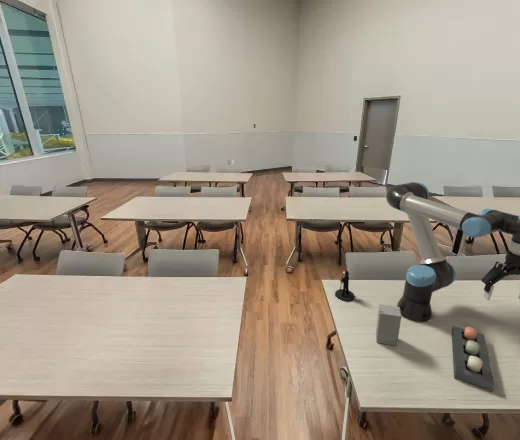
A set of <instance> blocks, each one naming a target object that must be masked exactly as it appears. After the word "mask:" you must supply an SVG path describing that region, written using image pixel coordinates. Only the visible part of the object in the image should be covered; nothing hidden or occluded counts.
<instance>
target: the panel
mask: <svg viewBox="0 0 520 440" xmlns="http://www.w3.org/2000/svg"><path fill="white" fill-rule="evenodd" d="M464 332H465V328H463V327H460V326H455V325H452V328H451V345H452V346H451V348H452V363H453V379H456V380H458V381H460V382H463V383H466V384H468V385H471V386H473V387H477V388H479V389H482V390H485V391H488V392H490V393H492V392H493V391H494V388H495V379H494V376H493V371H492V370H493V369H492V365H491V360H490V356H489V351H488V345H487V341H486V337H485V334H484V333H480V332H478V331H477V335H476V338H475V340H474V341H475V342H477V343H478V344H479V345H480V348H479V351H478V354H477V355H471V354H469V353H467V352H466V351H465V348H466V344H467V341H469V340H468V339H466V338H465V337H464V336H463V335H464ZM470 356H476V357H478V358H480V359H481V360H482V362H483V364H482V367H481V370H480V372H474V371H471V370H470V369H469V368H468V367H467V363H468V359H469V357H470Z"/></svg>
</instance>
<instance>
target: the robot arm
mask: <svg viewBox="0 0 520 440" xmlns="http://www.w3.org/2000/svg"><path fill="white" fill-rule="evenodd" d="M385 196H386V201H387V204H388V205H389V206H391V208H393V209H395V210H398V211H401V212H403V213H405V214H406V215H407V217H408V220H409V224H410V227H411V230H412V233H413V235H414V239H415V242H416V246H417V249H418V252H419V255H420V258H421V260H420V262H419V264H416V265H412V266H410V267H409V268H408V269H407V271H406V272H407V273H406V275H405V283H404V287H403V288H404V289H403V292H402V294H403V295H401V297H400V299H399V300H398V301H397V304H396V307H400V311H401V316H402V317H403V318H404V319H407V320H410V321H413V322H418V323H426V322H429V321H430V320H432V316H433V310H432V305H431V299H432V295H433V293H434V292H437V291H439V290H441V289H444V288H447V287H449V286H451V285H452V284H453V283H454V282H455V281H456V279H457V278H456V277H457V272H456V269H455V267H454V266H453V265H452V264H451V263H450V262H448V261H447V259H446V257H444V256H443V255H441V252H440V248H439V245H438V242H437V240H436V239H437V238H436V236H435V234H434V229H433V227H432V224H431V222H430V220H432V221H435V222H438V223H441V224H443V225H446V226H450V227H453V228H456V229H458V230H460V231H462V232H463V233H464V234H465V235H466V236H467V237H470V238H473V239H475V238H482V237H486V236H487V235H490V234H493V233H496V232H501V233H504V234H507V235H511V239H510V243H509V246H508V250H507V251H506V255H505V256H504V259H505V260H504V262H503V263H501V262H500V261H496V262H495V263H494V265H493V267H492V268H491V269H490V270H489V271H488V272H487V273H486V274H485V275H484V276H483V277H482V278H481V282H482V283H483V284H484V288H483V290H484V293H483V298H485V299H486V300H487V301H490V300H491V297H492V294H493V291H494V289H495V286H494V285H495V284H497V283H498V282H500V281H501V280H502V279H504V278H505V277H509V276H510V275H511V276H520V214H519V215H515V214H512V213H507V212H504V211H500V210H497V209H492V208H484V209H483V210H481V211H480V213H479V214H477V213H474V212H470V211H468V210H463V209H460V208H457V207H454V206H450V205H447V204H443V203H440V202H437V201H433V200H431V199H429V197H430V191H429V189H428V187H427V186H426V185H425V184H423V183H421V182H417V181H416V182H412V181H411V182H407V183H403V184H402V183H400V184H395V185H393V186H392V187H390V188H389V189H388V190H387V192H386V195H385ZM517 299H519V300H520V293H519V294H518V297H517Z"/></svg>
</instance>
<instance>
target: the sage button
mask: <svg viewBox="0 0 520 440" xmlns="http://www.w3.org/2000/svg"><path fill="white" fill-rule="evenodd" d="M479 348H480V345H479V344H478V343H477V342H475V341H471V340H469V341H467V344H466V348H465V351H466V352H467V353H469V354H471V355H477V354H478V351H479Z"/></svg>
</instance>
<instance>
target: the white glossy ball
mask: <svg viewBox="0 0 520 440" xmlns="http://www.w3.org/2000/svg"><path fill="white" fill-rule="evenodd" d="M482 364H483V362H482V360H481V359H480V358H478V357H476V356H470V357H469V359H468V363H467V367H468V368H469V369H470V370H471V371H474V372H480V370H481V367H482Z"/></svg>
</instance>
